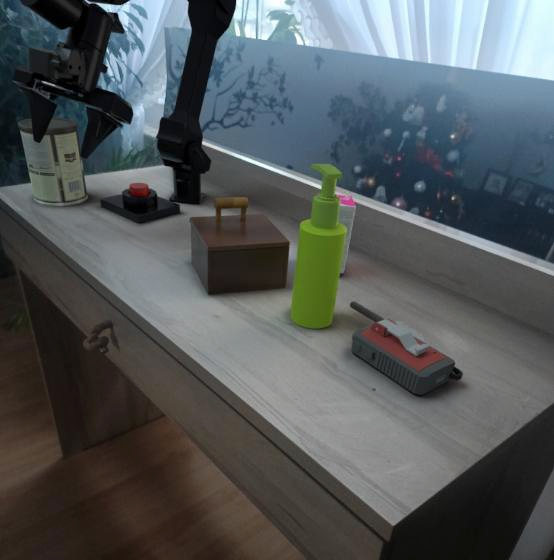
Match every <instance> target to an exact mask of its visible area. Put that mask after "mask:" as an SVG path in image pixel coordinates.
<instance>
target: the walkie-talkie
mask: <svg viewBox="0 0 554 560" xmlns="http://www.w3.org/2000/svg"><path fill="white" fill-rule="evenodd" d="M349 308H350V309H352V310H354V311H356V312H357V313H359V314H361V315H362V316H364V317H365V318H367V319H369V320H370V321H372V322H374V323H372V324H370V325H367V326H363V327H357V328H356V329H355V330H354V332H353V333H352V336H351V348H350V350H351V352H352V353H353V354H354V355H356V356H358V357H359V358H361V359H362V360H364V361H365V362H367V363H368V364H369V365H371V366H373V367H374V368H375V369H377V370H378V371H379V372H381V373H383V374H385V375H386V376H387V377H388V378H390V379H391V380H393V381H395V382H396V383H397V384H399V385H400V386H402V387H403V388H405V389H407V390H408V391H409V392H411V393H412V394H414V395H419V396H422V395H425V394H426V393H428V392H431V391H433V390H435V389H436V388H438V387H440V386H442V385H444V384H446V383H448V382H450V381H451V380H454V381H461V380H462V379H463V376H464V372H463V371H462V370H461V369H460V368H457V367H456V366H455V365H456V361H455V360H454V359H453V358H451V357H450V356H448V355H446V354H444V353H443V352H441V351H439V350H438V349H436V348H434V347H433V346H431V345H429V344H428V343H427V342H426V340H425V338H424V336H423V333H420V332H419V331H417V330H415V329H414V328H412V327H410V326H408V325H406V324H405V323H404V322H403V321H401V320H396V321H394V320H391V319H389V318H383V317H382V316H380V315H379V314H377V313H375V312H374V311H372V310H370V309H368V308H367V307H365V306H363V305H362V304H361V303H358V302H357V301H355V300H353V301H351V302H350V303H349Z"/></svg>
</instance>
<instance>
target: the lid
mask: <svg viewBox="0 0 554 560" xmlns="http://www.w3.org/2000/svg"><path fill="white" fill-rule="evenodd" d="M213 205H214V209H215V215H210V216H207V215H206V216H190V217H189V223H190V226H191V225H192V226H193V228H194V230H195V231H196V233H197V235H198V236H199V238H200V240H201V241H202V243H203V245H204V246H205V248H206V250H207V251H208V252H212V251H226V250H241V249H256V248H270V247H285V246H289V247H290V245H291V241H290V240H289V238H288V237H286V236H285V234H283V233H282V232H281V230H280V229H279V228H277V226H276V225H275V224H274V223H273V221H271V220H270V219H269V217H268V216H266V215H265V213H252V214H250V213H249V214H247V208H248V207H249V199H248V197H247V196H238V197H237V196H236V197H215V198H214V199H213ZM228 209H229V210H230V209H231V210H232V209H233V210H234V209H240V214H233V215H232V214H231V215H230V214H229V215H222V210H228Z"/></svg>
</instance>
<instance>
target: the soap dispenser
mask: <svg viewBox="0 0 554 560" xmlns="http://www.w3.org/2000/svg"><path fill="white" fill-rule="evenodd" d="M310 167H311V169H312V170H315V171H317V172H319V174H320V175H322V180H321V187H320V192H318V193H319V194H318V193H317V194H316V195H314V196H313V197H312V205H311V213H310V218H309V219H305V220H303V221H301V222H300V224H299V230H298V238H297V239H298V241H297V249H296V259H295V268H294V269H295V270H294V279H293V289H292V296H291V297H292V298H291V305H290V306H291V307H290V319H291V320H292V322H293V323H294V324H296V325H298V326H300V327H302V328H306V329H314V330H316V329H317V330H319V329H324V328H326V327H328V326H330V325H332V323H333V321H334V320H333V319H334V313H335V307H336V301H337V296H338V295H337V294H338V288H339V281H340V277H341V276H340V270H341V263H342V257H343V251H344V245H345V238H346V232H347V228H346V227H345V226H344V225H343V224H341V223H339V222H338V217H339V211H340V204H341V199H340V198H339V197H337V196H336V195H337V194H336V189H337V180H342V179H343V176H344V174H343V173H342V171H340V170H339V169H338V168H337V166H334V165H333V164H330V163H311V164H310Z"/></svg>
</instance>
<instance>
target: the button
mask: <svg viewBox="0 0 554 560" xmlns="http://www.w3.org/2000/svg"><path fill="white" fill-rule="evenodd" d="M128 189H130V195H134V196H146V195H149V189H150V188H149V184H147V183H146V182H145V183H144V182H132V183H130V184H129V185H128Z"/></svg>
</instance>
